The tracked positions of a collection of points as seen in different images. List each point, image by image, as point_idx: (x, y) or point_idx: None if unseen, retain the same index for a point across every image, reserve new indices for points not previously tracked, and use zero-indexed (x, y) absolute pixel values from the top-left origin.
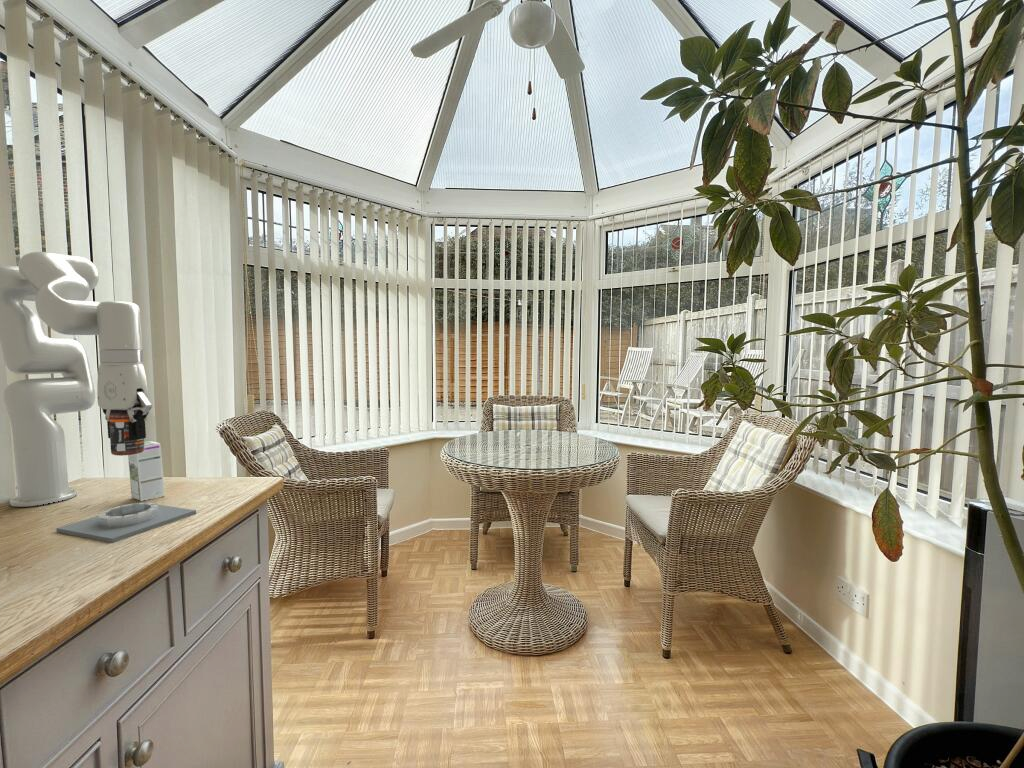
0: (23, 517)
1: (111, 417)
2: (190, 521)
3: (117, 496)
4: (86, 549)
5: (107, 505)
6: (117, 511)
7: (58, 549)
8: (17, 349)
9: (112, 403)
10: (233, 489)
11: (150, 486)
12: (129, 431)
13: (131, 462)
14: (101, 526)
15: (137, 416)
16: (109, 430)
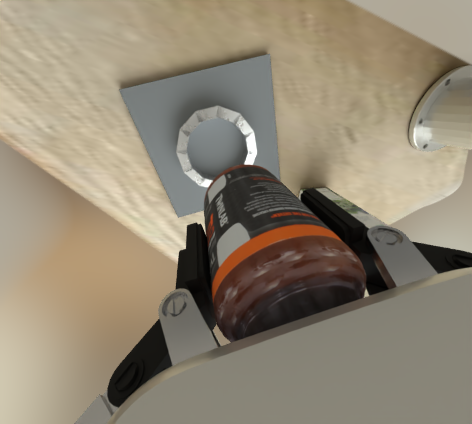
0: (395, 54)
1: (293, 249)
2: (145, 199)
3: (353, 179)
4: (113, 44)
5: (328, 157)
6: (245, 143)
7: (154, 10)
8: None
9: (346, 400)
10: None
11: None
12: (190, 244)
13: (357, 214)
14: (211, 106)
15: (152, 341)
16: (321, 203)
